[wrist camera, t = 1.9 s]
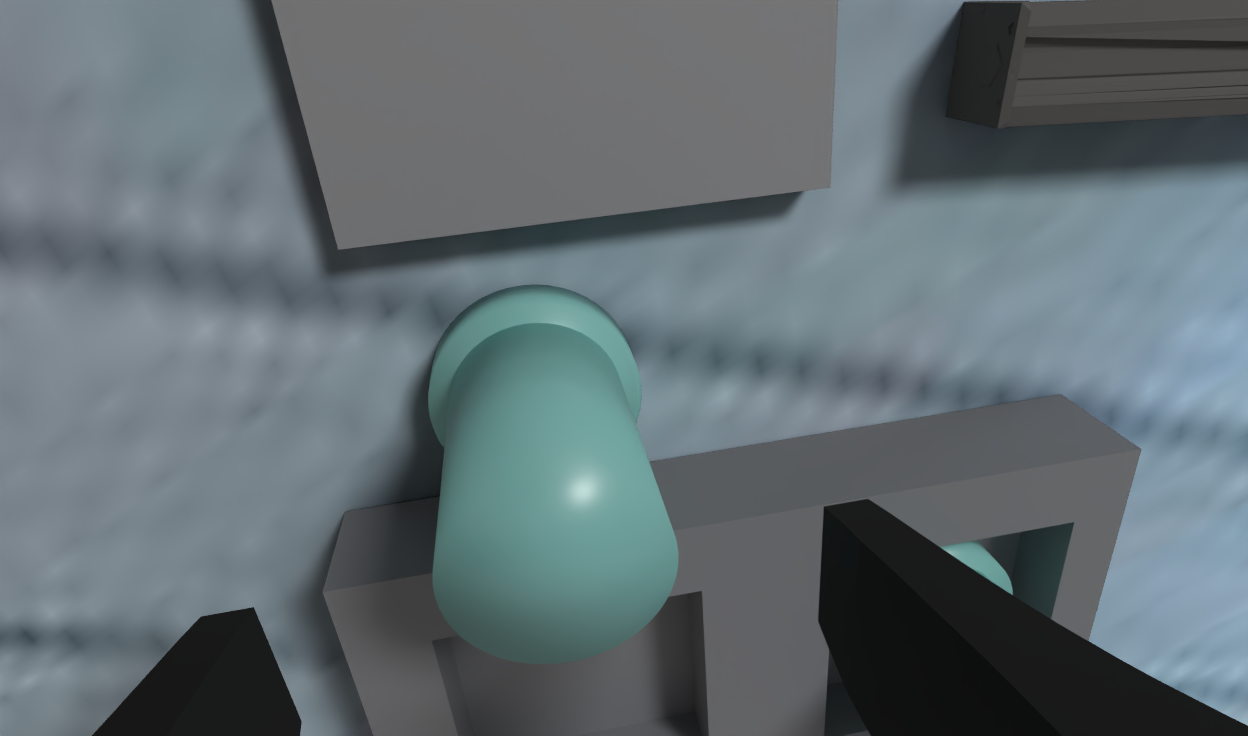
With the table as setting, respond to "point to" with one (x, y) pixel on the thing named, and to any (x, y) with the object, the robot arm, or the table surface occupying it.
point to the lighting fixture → (1099, 61)
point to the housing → (743, 578)
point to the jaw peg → (544, 481)
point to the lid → (555, 107)
